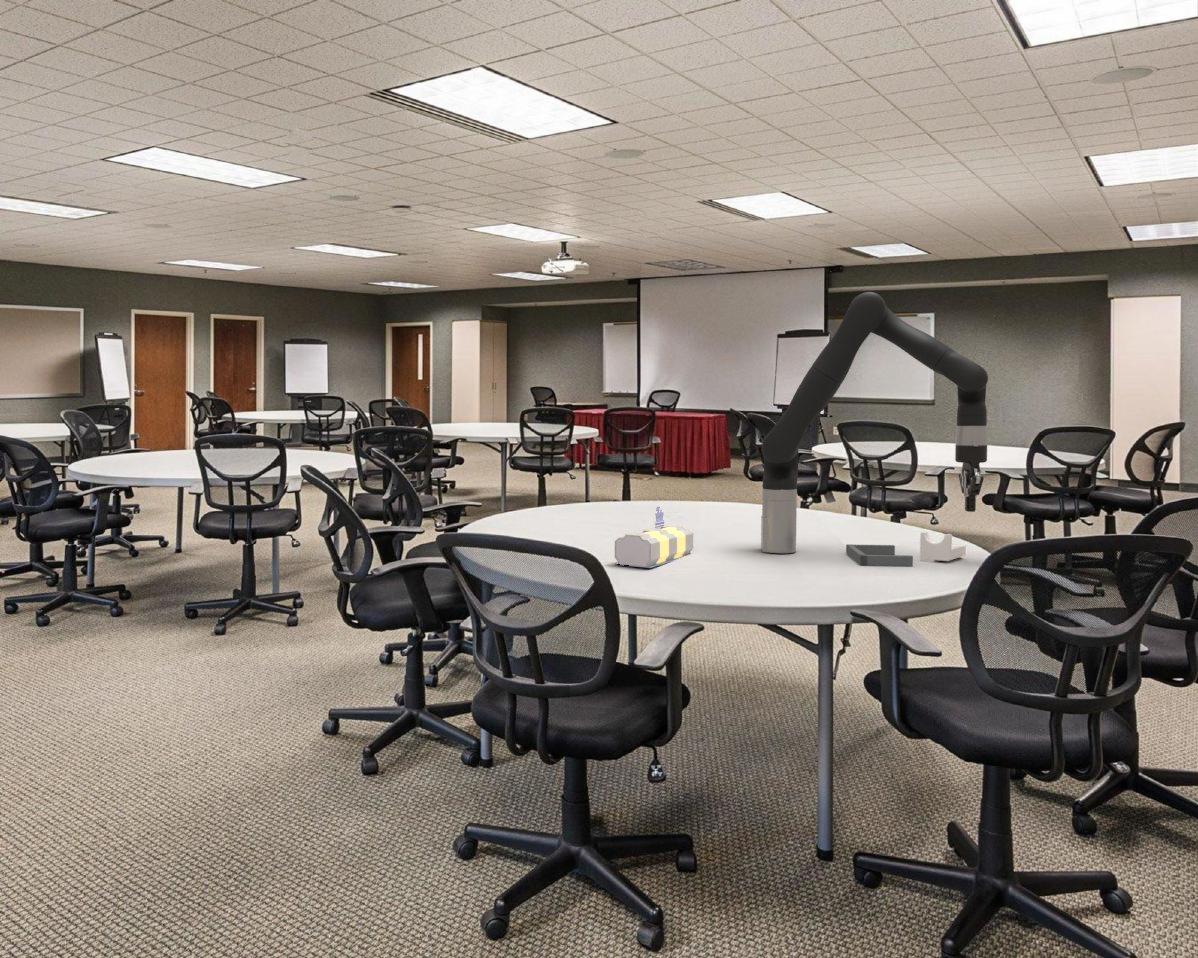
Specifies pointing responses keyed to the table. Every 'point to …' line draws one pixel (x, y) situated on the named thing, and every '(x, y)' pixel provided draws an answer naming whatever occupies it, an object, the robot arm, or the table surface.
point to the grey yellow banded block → (654, 545)
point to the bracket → (939, 549)
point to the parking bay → (877, 555)
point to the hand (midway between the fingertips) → (970, 511)
